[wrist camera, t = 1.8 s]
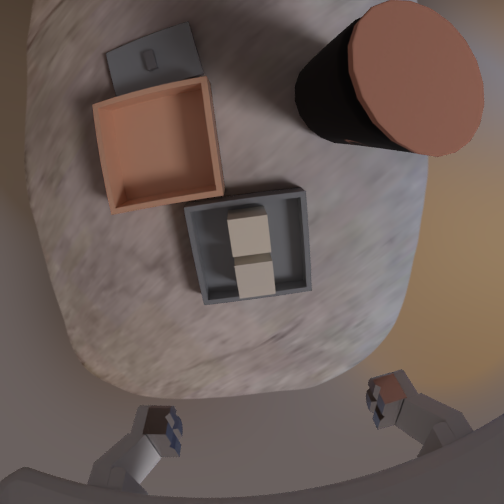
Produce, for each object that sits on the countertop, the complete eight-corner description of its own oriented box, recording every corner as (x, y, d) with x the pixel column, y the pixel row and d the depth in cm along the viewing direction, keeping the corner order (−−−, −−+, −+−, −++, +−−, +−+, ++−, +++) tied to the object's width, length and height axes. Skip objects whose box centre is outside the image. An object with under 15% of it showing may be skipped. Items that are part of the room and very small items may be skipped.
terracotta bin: (108, 107, 29) (92, 104, 25) (210, 83, 29) (206, 76, 25) (125, 205, 33) (111, 214, 29) (225, 187, 33) (223, 195, 29)
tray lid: (108, 55, 26) (103, 52, 25) (189, 23, 26) (187, 18, 24) (120, 105, 29) (115, 103, 27) (204, 74, 28) (202, 71, 27)
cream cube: (228, 210, 34) (227, 220, 30) (263, 205, 34) (267, 214, 30) (233, 244, 35) (233, 257, 31) (267, 239, 35) (271, 252, 31)
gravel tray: (187, 202, 34) (183, 207, 31) (300, 187, 34) (305, 191, 31) (205, 294, 38) (204, 305, 36) (307, 281, 38) (311, 290, 36)
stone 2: (234, 252, 36) (234, 266, 32) (268, 247, 36) (272, 260, 32) (239, 282, 37) (239, 298, 33) (271, 277, 37) (275, 293, 33)
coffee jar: (317, 158, 33) (396, 183, 16) (275, 74, 29) (317, 15, 12) (392, 125, 31) (500, 131, 15) (355, 46, 28) (444, -6, 11)
